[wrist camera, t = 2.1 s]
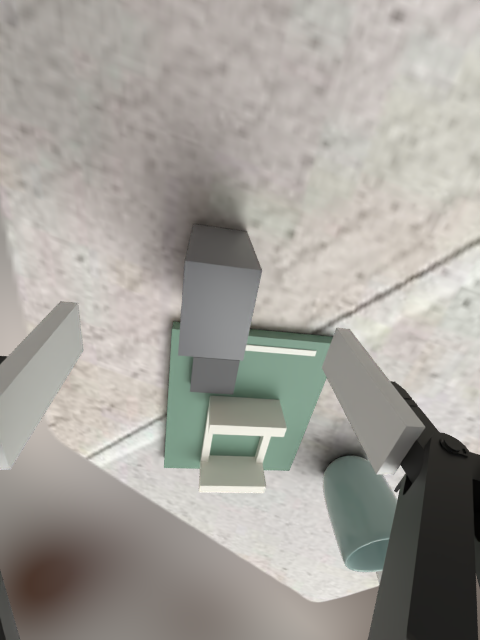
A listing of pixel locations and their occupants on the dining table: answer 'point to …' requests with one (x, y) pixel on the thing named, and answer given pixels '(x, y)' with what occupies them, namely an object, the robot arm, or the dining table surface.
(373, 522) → the cup
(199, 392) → the board
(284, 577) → the dining table surface
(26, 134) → the dining table surface
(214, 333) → the plug
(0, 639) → the robot arm
